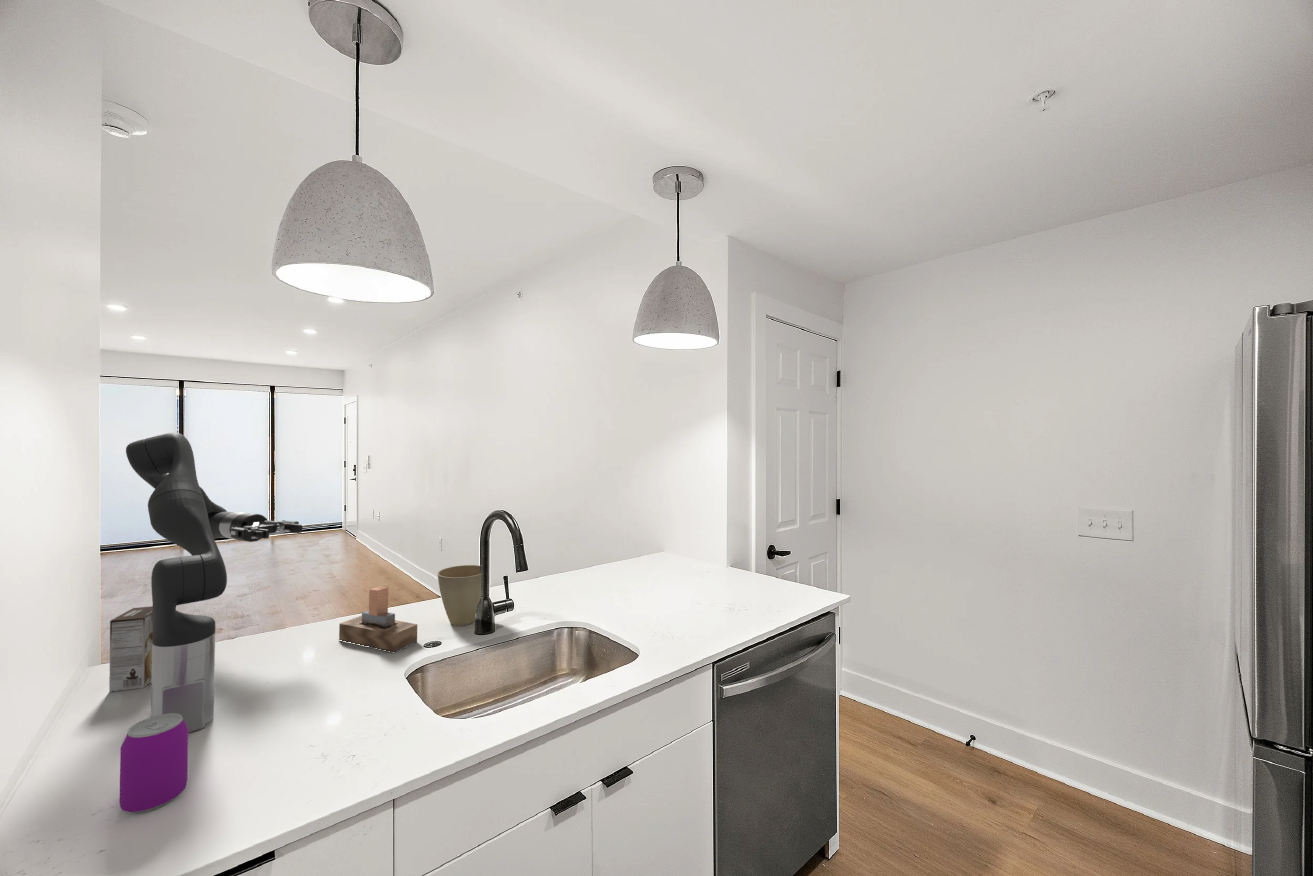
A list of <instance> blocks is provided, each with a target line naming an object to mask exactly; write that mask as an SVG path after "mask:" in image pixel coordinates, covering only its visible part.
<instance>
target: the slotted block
mask: <svg viewBox="0 0 1313 876" xmlns="http://www.w3.org/2000/svg"><path fill="white" fill-rule="evenodd" d="M338 627H339V628H338V641H339V640H342V641H346V642H351V643H355V644H360V645H364V646H369V647H372V648H377V649H381V650H380V651H382V650H386V651H390V652H389V653H391V652H395V653H397V652H399V651H401V650H403V649H406V648H407V647H406V646H408V647H409V645H410V646H412V645H414V644H416V643H418V624H416V623H412V622H408V621H407V622H406V621H401V620H396V619H395V623H394V626H392V627H390V628H387V629H381V625H377V624H372V623H371V624H369V625H362V615H359V616H357V617H353V618H351V619H348V620H345V621H342V622H340V623H339V625H338ZM411 644H412V645H411ZM405 647H406V648H405ZM372 648H371V649H372ZM377 649H376V650H377ZM400 649H401V650H400ZM398 650H399V651H398ZM386 651H385V652H386ZM396 651H397V652H396Z"/></svg>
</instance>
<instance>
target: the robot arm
mask: <svg viewBox="0 0 1313 876" xmlns="http://www.w3.org/2000/svg"><path fill="white" fill-rule="evenodd" d="M191 445H192V444H191V442H190V441H189V440H188V438H187V437H185V435H183V434H182V433H180V432H168V433H164V434H157V435H154V436H151V437H147V438H143V439H139V440H136V441H132V442H130V443H129V444H127V446H125V447H126V448H125V454H126V458H127V460H128V463H129V465H130V467H131V468H132V469H133V471H134V472H135V473H136V474H137V475H138V476H139V477H140V478H141V479H142V480H143V481H144V482H146V483H147V484H148V485H149V486H151V487H152V488H153V489H154V490H153V491H152V493H151V494H150V496H149V499H148V502H147V510H148V511H147V512H148V516H149V521H150V525H151V527H152V529H153V530H154V531H155V532H156V534H158V535H159V536H161V537H162V538H164V539H165V540H167V541H169V542H170V543H172V544H174V545H176V546H178V547H180V548H181V549H183V550H184V551H186V552H187V553H189V554H190V555H186V556H178V557H170V558H165V559H163V558H162V559H161V560H158V561H157V562H156V563H155V565H154V566H153V568H152V571H151V579H150V580H151V581H150V582H151V583H150V584H151V586H150V587H151V601H152V606H153V637H152V676H151V683H150V684H151V685H150V687H151V688H150V691H151V692H150V718H151V717H154V716H158V715H162V714H170V713H177V714H180V715H181V716H182V717H183V720H184V722H185V723H186V725H187V727H188V733H191V732H195V731H199V730H202V729H204V728H205V726H206V725H207V724H208V723H210V722H211V721H212V720H213V719H214V716H215V715H214V712H215V711H214V708H215V659H216V657H215V656H216V654H215V653H216V621H215V619H214V618H213V617H212V616H207V615H199V614H189V613H184V612H181V611H179V610H177V606H180V605H181V606H182V605H185V604H191V603H197V602H203V601H209V600H211V599H215V598H218V597H220V596H221V595H223V593H224V592H225V590H226V588H227V585H228V584H227V583H228V576H227V575H228V574H227V569H226V565H225V561H224V559H223V556H222V554H221V552H220V550H219V546H218V544H217V541H216V539H220V538H224V539H225V538H227V539H230V540H234V541H241V542H247V543H253V542H259V541H260V540H262V539H269V538H270V536H271V535H282V534H284V533H289V534H290V533H293V534H300V533H301V534H302V533H303V525H302V524H299V523H300V521H296V520H295V521H293V520H284V519H282V520H280V521H279V520H276V521H274V520H269V519H268V518H267V517H266V516H264V515H262V514H260V513H252V512H251V513H250V512H239V511H238V512H231V511H228V510H226V509H225V507H222V506H220V505H218V504H217V503H215V502H214V501H212V500H211V499H210V498H209V496H208V495H207V493H206V491H205V490H204V489H203V488H202V486H200V484H199V481H198V477H197V471H196V463H195V456H194V450H193V448H192V446H191ZM278 528H279V531H277V530H278Z"/></svg>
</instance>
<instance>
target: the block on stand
mask: <svg viewBox="0 0 1313 876" xmlns="http://www.w3.org/2000/svg"><path fill="white" fill-rule="evenodd" d="M368 598H369V599H368V610H366V611H363V612H361V616H362V625H369V624H371V623H372V624H377V625H381V629H387V628H390V627H392V626H394V623H395V620H396V613H393V612H389V587H388V586H383V585H379V586H376V587H373V588H369V590H368Z"/></svg>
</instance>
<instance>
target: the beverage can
mask: <svg viewBox="0 0 1313 876" xmlns="http://www.w3.org/2000/svg"><path fill="white" fill-rule="evenodd" d="M119 753H120V754H119V755H120V757H119V759H120V760H119V800H118V801H119V808H120V810H121V811H124V812H126V813H130V814H134V815H135V814H136V815H137V814H144V813H149V812H152V811H155V810H158V809H160V808H162V807H165V806H166V805H168V804H170V803H171V802H173V801H174V800H176V799H177V798H178V797H179V796H180V795H181V794H182V792H184V791H185V789H186V787H187V783H188V767H189V766H188V765H189V762H188V761H189V759H188V756H189V755H188V754H189V732H188V727H187V725H186V723H185V722H184V720H183V717H182V716H181V715H180V714H177V713H170V714H162V715H158V716H154V717H151V716H150V717H147V718H145V719H143V720H140V721H138V722H136V723H134V724H133V725H132V726H130V727H129V728H128V730H127V734H126V735H125V738H124V740H123V741H122V744H121V746H120V751H119Z"/></svg>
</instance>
